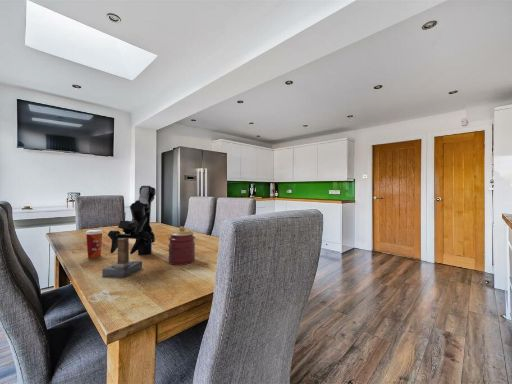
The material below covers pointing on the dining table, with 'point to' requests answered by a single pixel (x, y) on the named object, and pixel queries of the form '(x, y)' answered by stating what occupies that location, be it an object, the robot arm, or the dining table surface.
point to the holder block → (122, 270)
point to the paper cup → (94, 243)
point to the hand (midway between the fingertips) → (121, 253)
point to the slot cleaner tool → (123, 253)
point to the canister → (181, 247)
